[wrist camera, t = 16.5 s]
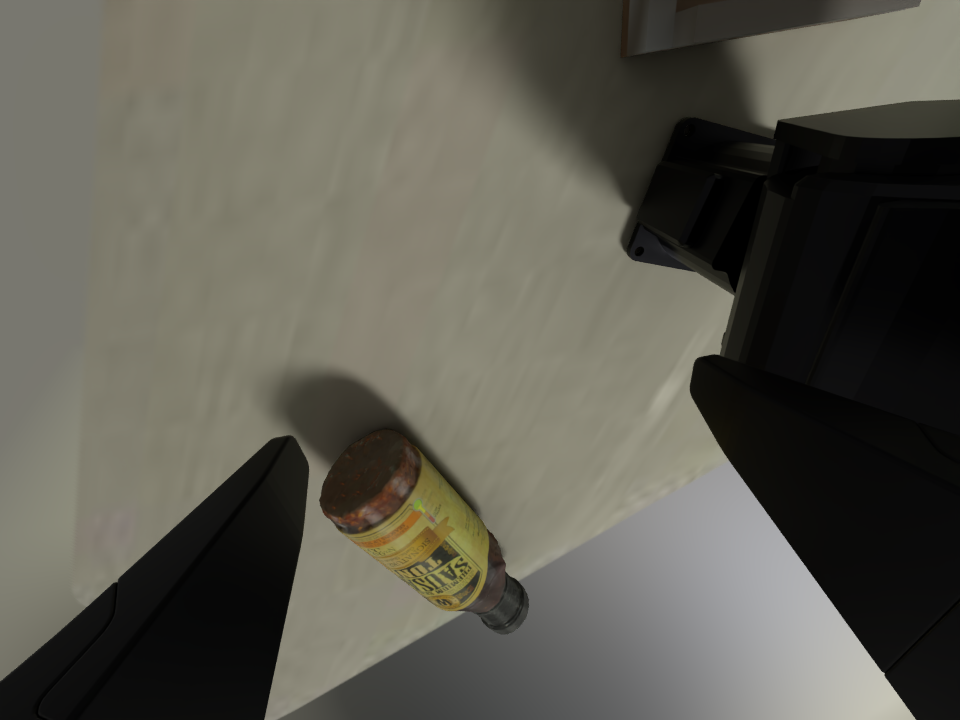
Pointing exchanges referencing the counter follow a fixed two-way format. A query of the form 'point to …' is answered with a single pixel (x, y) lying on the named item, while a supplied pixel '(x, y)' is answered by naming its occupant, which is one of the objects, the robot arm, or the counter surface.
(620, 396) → the counter surface
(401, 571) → the sauce bottle
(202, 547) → the robot arm
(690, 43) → the shallow grey tray
